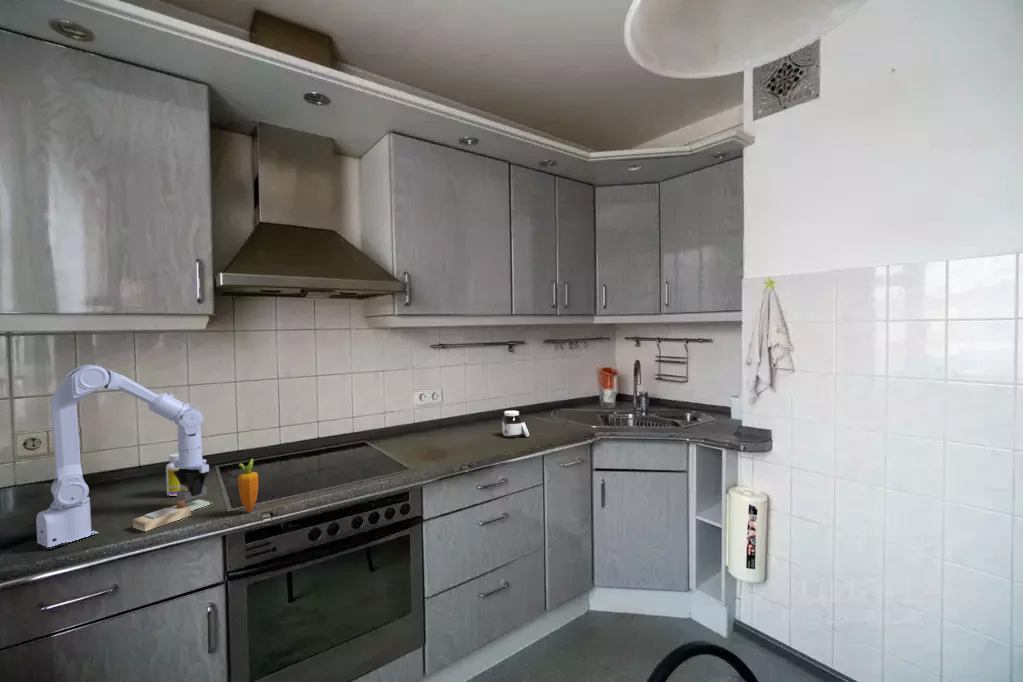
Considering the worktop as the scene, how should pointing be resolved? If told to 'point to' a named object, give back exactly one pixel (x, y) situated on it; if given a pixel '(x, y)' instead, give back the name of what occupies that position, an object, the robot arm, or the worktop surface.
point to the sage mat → (197, 504)
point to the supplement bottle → (172, 476)
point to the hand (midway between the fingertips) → (192, 493)
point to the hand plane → (162, 516)
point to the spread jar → (513, 425)
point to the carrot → (248, 486)
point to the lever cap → (188, 492)
